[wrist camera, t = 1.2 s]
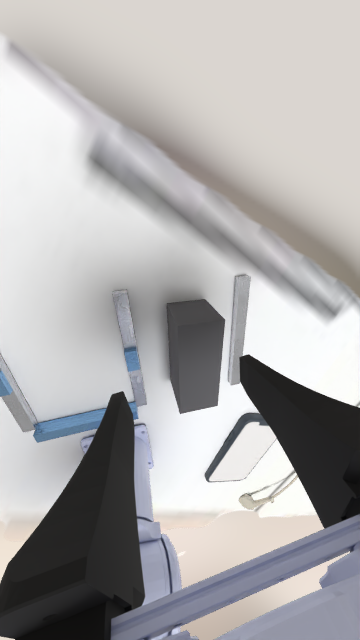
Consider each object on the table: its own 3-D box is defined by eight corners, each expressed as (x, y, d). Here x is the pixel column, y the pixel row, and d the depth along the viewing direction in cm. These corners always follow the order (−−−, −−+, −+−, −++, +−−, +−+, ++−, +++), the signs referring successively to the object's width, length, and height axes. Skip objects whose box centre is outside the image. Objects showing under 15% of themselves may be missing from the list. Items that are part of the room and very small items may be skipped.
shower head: (309, 444, 48) (234, 484, 43) (323, 455, 44) (243, 500, 40) (312, 462, 49) (239, 504, 44) (326, 475, 46) (248, 521, 41)
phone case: (240, 471, 40) (284, 413, 34) (244, 481, 39) (291, 422, 33) (200, 473, 37) (241, 410, 31) (203, 483, 36) (247, 419, 30)
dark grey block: (201, 373, 26) (217, 405, 21) (170, 379, 25) (180, 413, 21) (204, 298, 21) (225, 319, 17) (166, 302, 21) (177, 325, 16)
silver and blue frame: (236, 385, 28) (241, 394, 27) (30, 432, 23) (24, 445, 22) (246, 275, 21) (254, 278, 20) (-43, 310, 16) (-57, 318, 15)
